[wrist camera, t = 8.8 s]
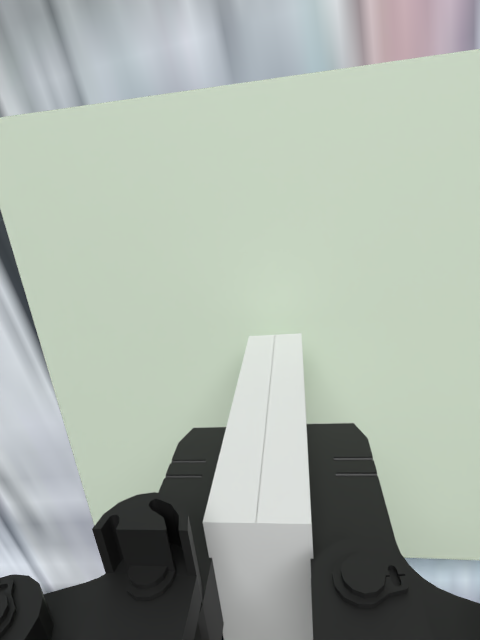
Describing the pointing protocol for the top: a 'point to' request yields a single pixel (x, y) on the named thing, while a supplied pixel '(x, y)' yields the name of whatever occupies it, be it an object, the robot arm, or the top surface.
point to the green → (264, 271)
